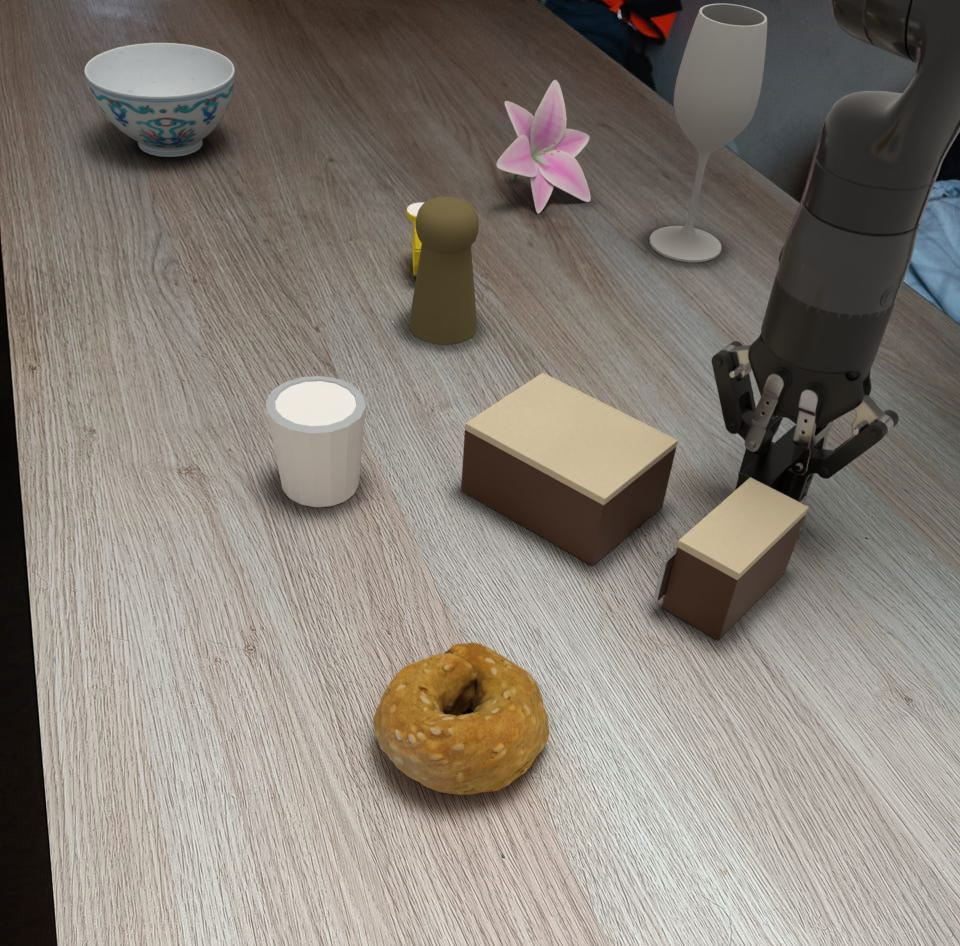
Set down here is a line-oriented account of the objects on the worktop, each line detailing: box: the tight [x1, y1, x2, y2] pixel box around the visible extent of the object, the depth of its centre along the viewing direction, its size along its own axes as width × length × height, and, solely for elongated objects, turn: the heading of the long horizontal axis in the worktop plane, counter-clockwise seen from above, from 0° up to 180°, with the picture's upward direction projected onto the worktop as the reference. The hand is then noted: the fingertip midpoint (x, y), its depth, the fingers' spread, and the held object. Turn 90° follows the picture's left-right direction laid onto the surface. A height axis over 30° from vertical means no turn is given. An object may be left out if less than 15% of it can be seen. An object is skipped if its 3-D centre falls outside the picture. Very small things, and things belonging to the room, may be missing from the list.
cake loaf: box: [460, 372, 679, 566], centre depth 79 cm, size 9×12×6 cm
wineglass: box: [648, 3, 768, 263], centre depth 103 cm, size 8×8×21 cm
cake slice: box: [661, 477, 810, 641], centre depth 73 cm, size 9×4×6 cm, turn 140°
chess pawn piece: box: [408, 196, 480, 345], centre depth 93 cm, size 6×6×11 cm
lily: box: [496, 79, 592, 214], centre depth 114 cm, size 12×12×10 cm
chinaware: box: [84, 42, 236, 158], centre depth 116 cm, size 15×15×8 cm
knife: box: [653, 424, 796, 603], centre depth 77 cm, size 19×2×4 cm, turn 140°
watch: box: [406, 201, 425, 278], centre depth 101 cm, size 6×3×6 cm, turn 4°
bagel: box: [372, 642, 550, 796], centre depth 64 cm, size 10×11×5 cm
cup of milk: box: [265, 375, 367, 508], centre depth 78 cm, size 7×7×7 cm
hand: (768, 495), depth 81 cm, fingers closed on knife, 2 cm apart
